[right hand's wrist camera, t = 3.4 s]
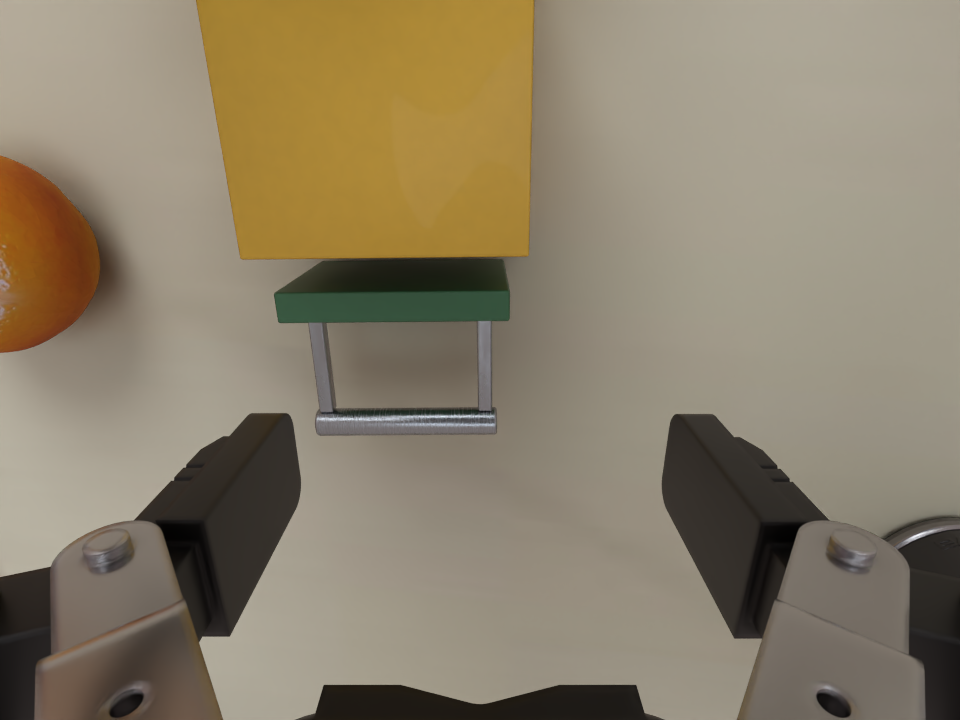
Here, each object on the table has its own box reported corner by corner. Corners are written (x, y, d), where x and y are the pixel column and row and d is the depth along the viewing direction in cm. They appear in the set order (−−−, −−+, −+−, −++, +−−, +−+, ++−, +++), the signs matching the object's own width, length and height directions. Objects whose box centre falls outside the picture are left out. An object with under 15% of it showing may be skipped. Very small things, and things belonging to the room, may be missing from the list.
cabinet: (515, 226, 26) (528, 256, 18) (311, 229, 26) (239, 259, 19) (519, -118, 21) (540, -272, 14) (269, -114, 21) (149, -264, 14)
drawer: (503, 389, 28) (508, 452, 22) (336, 390, 28) (297, 454, 22) (505, -14, 22) (513, -78, 16) (289, -11, 22) (216, -73, 16)
